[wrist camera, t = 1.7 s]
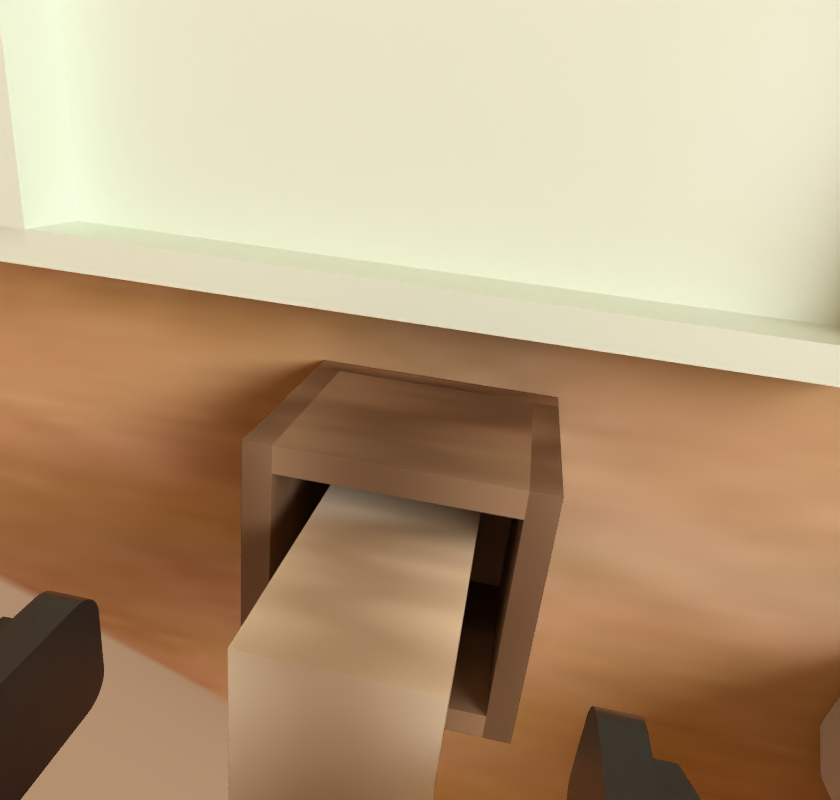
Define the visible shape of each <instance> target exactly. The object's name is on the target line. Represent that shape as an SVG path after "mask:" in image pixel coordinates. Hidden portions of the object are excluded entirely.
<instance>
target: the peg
mask: <svg viewBox="0 0 840 800" xmlns="http://www.w3.org/2000/svg"><path fill="white" fill-rule="evenodd" d="M480 516H481V512H478V511H472V510H467V509H461V508H456V507H451V506H445V505H440V504H434V503H429V502H423V501H418V500H412V499H407V498H402V497H396V496H391V495H385V494H380V493H374V492H369V491H363V490H358V489H353V488H347V487H342V486H336V485H330V487H329V488H328V490H327V491H326V493H325V495H324V496H323V498H322V499H321V501H320V502H319V504H318V506H317V507H316V509H315V510H314V512H313V514H312V515H311V517H310V518H309V520H308V522H307V523H306V525H305V526H304V528H303V530H302V531H301V533H300V534H299V536H298V537H297V539H296V541H295V542H294V544H293V545H292V547H291V549H290V550H289V552H288V553H287V555H286V557H285V558H284V560H283V561H282V563H281V564H280V566H279V568H278V569H277V571H276V572H275V574H274V576H273V577H272V579H271V580H270V582H269V584H268V585H267V587H266V588H265V590H264V592H263V593H262V595H261V596H260V598H259V599H258V601H257V603H256V604H255V606H254V607H253V609H252V611H251V612H250V614H249V615H248V617H247V619H246V620H245V622H244V623H243V625H242V626H241V628H240V630H239V631H238V633H237V634H236V636H235V638H234V639H233V641H232V642H231V644H230V646H229V647H228V753H229V754H228V759H229V760H228V761H229V764H228V766H229V767H228V768H229V800H433V795H434V789H435V783H436V777H437V771H438V765H439V759H440V754H441V748H442V742H443V736H444V730H445V724H446V718H447V712H448V706H449V700H450V694H451V689H452V683H453V677H454V671H455V665H456V659H457V653H458V647H459V641H460V635H461V629H462V624H463V618H464V612H465V606H466V600H467V594H468V588H469V582H470V576H471V570H472V565H473V559H474V553H475V546H476V540H477V534H478V528H479V522H480Z"/></svg>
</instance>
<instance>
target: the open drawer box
mask: <svg viewBox="0 0 840 800" xmlns="http://www.w3.org/2000/svg"><path fill="white" fill-rule="evenodd" d="M330 485H336V486H342V487H347V488H353V489H358V490H363V491H369V492H374V493H380V494H385V495H391V496H396V497H402V498H407V499H412V500H418V501H423V502H429V503H434V504H440V505H445V506H451V507H456V508H461V509H467V510H472V511H478V512H481V516H480V522H479V528H478V534H477V540H476V546H475V553H474V559H473V565H472V570H471V576H470V582H469V588H468V594H467V600H466V606H465V612H464V618H463V624H462V629H461V635H460V641H459V647H458V653H457V659H456V665H455V671H454V677H453V683H452V689H451V694H450V700H449V706H448V712H447V718H446V724H445V729H447V730H452V731H456V732H460V733H465V734H469V735H474V736H478V737H483V738H487V739H491V740H496V741H500V742H505V743H509V744H510V743H511V739H512V734H513V729H514V725H515V720H516V715H517V711H518V706H519V702H520V697H521V692H522V688H523V683H524V678H525V674H526V669H527V665H528V660H529V655H530V651H531V646H532V641H533V637H534V632H535V627H536V623H537V618H538V614H539V609H540V604H541V600H542V595H543V590H544V586H545V581H546V577H547V572H548V567H549V563H550V558H551V553H552V549H553V544H554V539H555V535H556V530H557V526H558V521H559V516H560V512H561V507H562V502H563V498H564V495H563V478H562V461H561V444H560V427H559V409H558V398H557V397H550V396H544V395H538V394H532V393H525V392H519V391H513V390H507V389H500V388H494V387H488V386H482V385H475V384H469V383H463V382H457V381H450V380H444V379H438V378H432V377H425V376H419V375H413V374H407V373H400V372H394V371H388V370H382V369H375V368H369V367H363V366H356V365H350V364H344V363H338V362H331V361H325V360H323V361H322V362H321V363H320V364H319V365H318V366H317V367H316V368H315V369H314V370H313V371H312V372H311V373H310V374H309V375H308V376H307V377H306V378H305V379H304V380H303V381H302V382H301V383H300V384H299V385H298V386H297V387H296V388H295V389H294V390H293V391H292V392H290V393H289V394H288V395H287V396H286V397H285V398H284V399H283V400H282V401H281V402H280V403H279V404H278V405H277V406H276V407H275V408H274V409H273V410H272V411H271V412H270V413H269V414H268V415H267V416H266V417H265V418H264V419H263V420H262V421H261V422H260V423H259V424H258V425H257V426H256V427H254V428H253V429H252V430H251V431H250V432H249V433H248V434H247V435H246V436H245V437H244V438H243V439H242V501H241V626H242V625H243V623H244V622H245V620H246V619H247V617H248V615H249V614H250V612H251V611H252V609H253V607H254V606H255V604H256V603H257V601H258V599H259V598H260V596H261V595H262V593H263V592H264V590H265V588H266V587H267V585H268V584H269V582H270V580H271V579H272V577H273V576H274V574H275V572H276V571H277V569H278V568H279V566H280V564H281V563H282V561H283V560H284V558H285V557H286V555H287V553H288V552H289V550H290V549H291V547H292V545H293V544H294V542H295V541H296V539H297V537H298V536H299V534H300V533H301V531H302V530H303V528H304V526H305V525H306V523H307V522H308V520H309V518H310V517H311V515H312V514H313V512H314V510H315V509H316V507H317V506H318V504H319V502H320V501H321V499H322V498H323V496H324V495H325V493H326V491H327V490H328V488H329V487H330Z"/></svg>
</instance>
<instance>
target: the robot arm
mask: <svg viewBox="0 0 840 800" xmlns="http://www.w3.org/2000/svg"><path fill="white" fill-rule="evenodd" d="M103 677H104V664H103V653H102V642H101V631H100V621H99V610H98V606H97V604H96V602H95V601H94V600H91V599H86V598H82V597H77V596H72V595H67V594H62V593H58V592H53V591H46V592H43V593H41V594H39V595H38V596H37V597H36V598H34V599H33V600H32V601H31V602H30V603H29V604H28V605H27V606H26V607H25V608H24V609H22V611H20V612H19V613H18V614H17V615H16V616H15V617H14V618H8V617H2V618H0V800H21V798H22V797H23V796H24V794H25V793H26V792H27V791H28V789H29V788H30V787H31V786H32V784H33V783H34V782H35V780H36V779H37V778H38V777H39V775H40V774H41V773H42V771H43V770H44V769H45V767H46V766H47V765H48V764H49V762H50V761H51V760H52V758H53V757H54V756H55V755H56V753H57V752H58V751H59V749H60V748H61V747H62V746H63V744H64V743H65V742H66V741H67V739H68V738H69V737H70V735H71V734H72V733H73V731H74V730H75V729H76V728H77V726H78V725H79V724H80V723H81V721H82V720H83V719H84V717H85V716H86V715H87V714H88V712H89V711H90V709H91V708H92V706H93V705H94V703H95V701H96V699H97V697H98V694H99V692H100V689H101V686H102V682H103ZM567 800H701V799H700V798H699V796H698V794H697V793H696V791H695V790H694V788H693V787H692V785H691V784H690V782H689V780H688V779H687V777H686V776H685V774H684V773H683V771H682V769H681V768H680V766H679V765H678V764H675V763H671V762H666V761H662V760H657V759H653V757H652V752H651V747H650V741H649V736H648V731H647V727H646V723H645V721H644V719H643V718H642V717H640V716H636V715H631V714H626V713H621V712H617V711H612V710H607V709H602V708H597V707H591V708H590V710H589V712H588V715H587V718H586V722H585V726H584V729H583V733H582V736H581V740H580V743H579V747H578V750H577V754H576V757H575V761H574V764H573V768H572V771H571V775H570V780H569V785H568V793H567Z"/></svg>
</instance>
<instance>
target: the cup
mask: <svg viewBox="0 0 840 800" xmlns="http://www.w3.org/2000/svg"><path fill="white" fill-rule="evenodd" d="M820 776H821V778H822V780H823V782H824V785H825V787H826V789H827V791H828V794H829V796H830V798H831V800H840V696H839V698H838V699H837V701H836V702H835V704H834V705H833V707H832V708H831V710H830V711H829V713H828V714H827V715H826V717H825V718H824V720H823V721H822V723H821V724H820Z"/></svg>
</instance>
